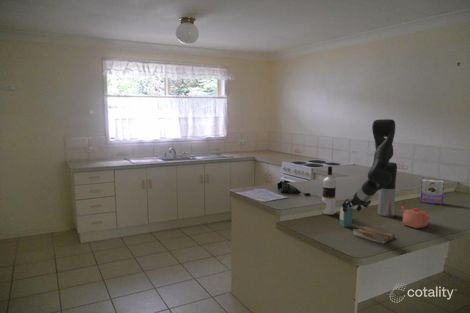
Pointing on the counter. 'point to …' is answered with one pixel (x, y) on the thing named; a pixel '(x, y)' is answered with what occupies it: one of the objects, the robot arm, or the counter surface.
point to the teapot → (415, 217)
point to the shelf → (373, 234)
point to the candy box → (432, 191)
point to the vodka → (329, 193)
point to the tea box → (345, 217)
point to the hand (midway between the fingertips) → (350, 210)
